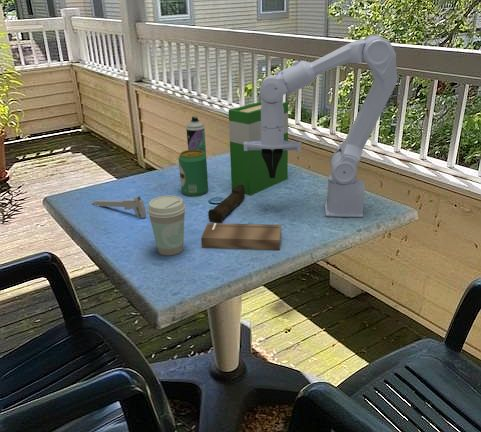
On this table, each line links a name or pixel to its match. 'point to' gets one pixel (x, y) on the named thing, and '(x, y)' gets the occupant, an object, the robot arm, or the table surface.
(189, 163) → the green can
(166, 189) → the table surface
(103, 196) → the table surface
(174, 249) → the coffee cup
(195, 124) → the spray can
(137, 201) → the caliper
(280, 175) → the hardback book
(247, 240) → the walnut board
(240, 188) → the dark brown rod
